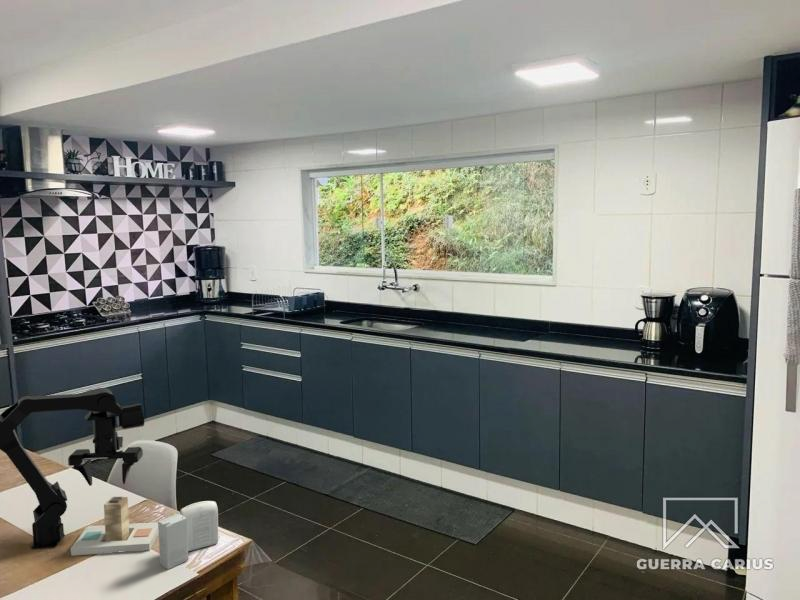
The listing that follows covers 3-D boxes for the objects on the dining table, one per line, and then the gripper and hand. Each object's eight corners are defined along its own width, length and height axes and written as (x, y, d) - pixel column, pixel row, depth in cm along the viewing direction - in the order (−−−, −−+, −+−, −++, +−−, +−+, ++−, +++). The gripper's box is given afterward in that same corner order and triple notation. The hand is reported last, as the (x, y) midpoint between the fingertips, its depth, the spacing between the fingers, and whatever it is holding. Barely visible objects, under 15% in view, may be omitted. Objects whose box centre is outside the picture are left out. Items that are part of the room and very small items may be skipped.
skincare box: (180, 554, 160) (178, 512, 158) (189, 560, 157) (188, 517, 156) (158, 564, 155) (156, 520, 154) (167, 571, 152) (165, 526, 151)
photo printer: (216, 537, 169) (214, 495, 168) (220, 543, 166) (219, 501, 164) (178, 547, 164) (176, 504, 162) (182, 554, 160) (180, 510, 159)
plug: (106, 546, 164) (103, 502, 162) (113, 537, 168) (111, 495, 167) (122, 545, 164) (120, 502, 163) (129, 537, 169) (127, 495, 167)
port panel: (71, 555, 159) (70, 547, 159) (87, 532, 171) (87, 525, 171) (149, 550, 162) (149, 542, 162) (160, 528, 174) (160, 521, 173)
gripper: (146, 422, 180) (149, 471, 182) (81, 424, 178) (84, 474, 180) (135, 434, 169) (138, 487, 171) (65, 437, 167) (69, 490, 169)
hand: (107, 484), depth 173 cm, fingers open, 9 cm apart
